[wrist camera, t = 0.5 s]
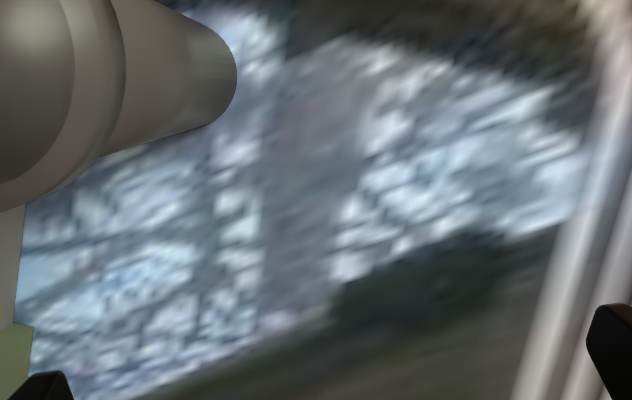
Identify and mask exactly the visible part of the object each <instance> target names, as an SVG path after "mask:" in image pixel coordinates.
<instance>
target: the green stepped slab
mask: <svg viewBox="0 0 632 400" xmlns="http://www.w3.org/2000/svg"><path fill="white" fill-rule="evenodd" d="M25 208H26V204H23V205H21V206H18V207H15V208H13V209H10V210H7V211H5V212H2V213H0V400H7V399H8V398H9V397H10V396H11V395H12V394H13V393H14V392H15V391H16V390H17V389H18V388H19V387H20V386H21V385H22V384H23V383H24V382H25V381H26V380H27V378H28V370H29V362H30V353H31V345H32V337H33V329H34V327H30V326H26V325H21V324H17V323H13V316H14V307H15V298H16V289H17V280H18V271H19V262H20V253H21V244H22V235H23V226H24V217H25Z"/></svg>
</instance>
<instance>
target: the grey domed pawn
mask: <svg viewBox="0 0 632 400" xmlns="http://www.w3.org/2000/svg"><path fill="white" fill-rule="evenodd" d="M236 85H237V69H236V64H235V60H234V57H233V55H232V52H231V51H230V49H229V47H228V46H227V44H226V43H225V41H224V40H223V39H222V38H221V37H220V36H219V35H218V34H217V33H216V32H214V31H213V30H212V29H210V28H208V27H207V26H205V25H203V24H201V23H198V22H196V21H194V20H192V19H190V18H188V17H186V16H184V15H182V14H180V13H178V12H176V11H174V10H172V9H170V8H168V7H166V6H164V5H162V4H160V3H157V2H155V1H153V0H0V213H2V212H5V211H7V210H10V209H13V208H15V207H18V206H21V205H23V204H26V203H28V202H31V201H34V200H36V199H39V198H42V197H44V196H47V195H49V194H52V193H54V192H56V191H58V190H60V189H61V188H63V187H65V186H67V185H68V184H70V183H71V182H72V181H74V180H75V179H76V178H78V177H79V176H80V175H82V174H83V173H84V172H85V171H86V170H87V169H88V168H89V167H90V166H91V165H92V163H93V162H94V161H95V160H96V159H97V158H98V157H102V156H105V155H108V154H112V153H115V152H118V151H121V150H125V149H128V148H131V147H135V146H138V145H141V144H145V143H148V142H151V141H155V140H158V139H161V138H165V137H168V136H171V135H174V134H178V133H181V132H184V131H188V130H191V129H194V128H198V127H201V126H204V125H206V124H209V123H211V122H213V121H214V120H216V119H217V118H218V117H220V116H221V115H222V114H223V113H224V112H225V110H226V109H227V108H228V106H229V105H230V103H231V101H232V99H233V97H234V94H235V90H236Z"/></svg>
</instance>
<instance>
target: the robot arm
mask: <svg viewBox="0 0 632 400" xmlns="http://www.w3.org/2000/svg"><path fill="white" fill-rule="evenodd" d="M586 346H587V350H588V353H589V355H590V357H591V359H592V361H593V363H594V365H595V367H596V369H597V371H598V373H599V375H600V377H601V379H602V381H603V383H604V385H605V387H606V389H607V391H608V392H609V394H610V396H611V398H612V400H632V307H631V306H629V305H627V304H624V303H614V304H605V305H601V306H599V307H598V308H597V309H596V311H595V314H594V317H593V320H592V323H591V326H590V329H589V331H588V334H587V338H586ZM7 400H74V398H73V395H72V392H71V390H70V387H69V384H68V381H67V379H66V376H65V374H64V373H63V372H62V371H58V370H56V371H48V372H40V373H35V374H33V375H32V376H30V377H29V378H28V379H27V380H26V381H25V382H24V383H23V384H22V385H21V386H20V387H19V388H18V389H17V390H16V391H15V392H14V393H13V394H12V395H11V396H10V397H9V398H8V399H7Z"/></svg>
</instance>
